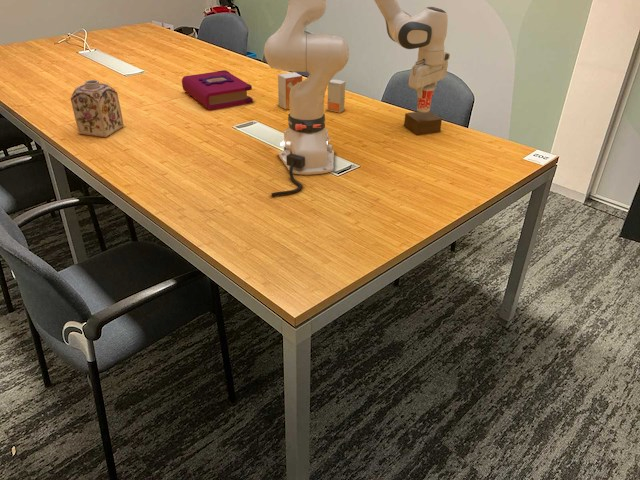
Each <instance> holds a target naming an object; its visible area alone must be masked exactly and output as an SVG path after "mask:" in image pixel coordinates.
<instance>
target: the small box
mask: <svg viewBox="0 0 640 480" xmlns="http://www.w3.org/2000/svg"><path fill="white" fill-rule="evenodd" d="M301 81H303V75H302V74H299V73H297V72H293V71H291V72H286V73H281V74H277V94H278V95H277V97H278V98H277V99H278V100H277V101H278V106H279V107H280V108H282V109H283V110H290V107H289V93H290V90H291V88H292V87H293V86H294V85H296V84H297V83H299V82H301Z"/></svg>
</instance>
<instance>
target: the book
mask: <svg viewBox="0 0 640 480" xmlns="http://www.w3.org/2000/svg"><path fill="white" fill-rule="evenodd" d="M181 86H182V90H183V91H184V92H186V94H188V95H189V96H191V97H192V98H193V99H195V100H196V101H197V102H199V103H200V104H201V105H202V106H204V107H205V108H206V109H208V110H210V111H212V110H213V111H214V110H220V109H225V108H229V107H230V108H231V107H236V106H241V105H249V104H253V102H254V99H253V98H252V97H250V96H249V95H248V91H252V90H253V86H252V84H250V83H247V82H246V81H245V80H243V79H241V78H240V77H237V76H235V75H234V74H232V73H231V72H230V71H228V70H226V69H224V70H216V71H211V72H205V73H197V74H190V75H184V76H183V77H182V79H181Z"/></svg>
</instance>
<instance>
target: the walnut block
mask: <svg viewBox="0 0 640 480" xmlns="http://www.w3.org/2000/svg"><path fill="white" fill-rule="evenodd" d="M442 121H443V119H442V118H441V117H439V116H438V115H437V114H435V113H433V112H432V111H429V112H419V111H413V112H405V113H404V122H403V126H404V128H406V129H408V130H409V131H411V132H412V133H413V134H415V135H416V136H421V135H426V134H427V135H429V134H434V133H440V132H441V128H442Z"/></svg>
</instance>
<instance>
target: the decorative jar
mask: <svg viewBox="0 0 640 480" xmlns="http://www.w3.org/2000/svg"><path fill="white" fill-rule="evenodd" d="M118 94H119V93H118V91H117V90H116V89H114V88H113V87H112V86H110V85H109V84H107V83H102V82H101V83H100V81H99V80H97V79H89V80H86V81H85V82H84V84H81V85H78V86H77V87H75V88H74V90H73V92H72V94H71V97H70V103H71V107H72V111H73V116H74V120H75V123H76V127H77V130H78V131H77V132H78V134H79V135H85V136H92V137H99V138H100V137H101V138H107V137H109V136H110V135H112V134H113V133H116V132H117V131H119V130H121V129H122V128H123V127H124V126H125V125H124V124H125V123H124V119H123V114H122V110H121V109H122V108H121V104H120V100H119V99H120V98H119V95H118Z"/></svg>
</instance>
